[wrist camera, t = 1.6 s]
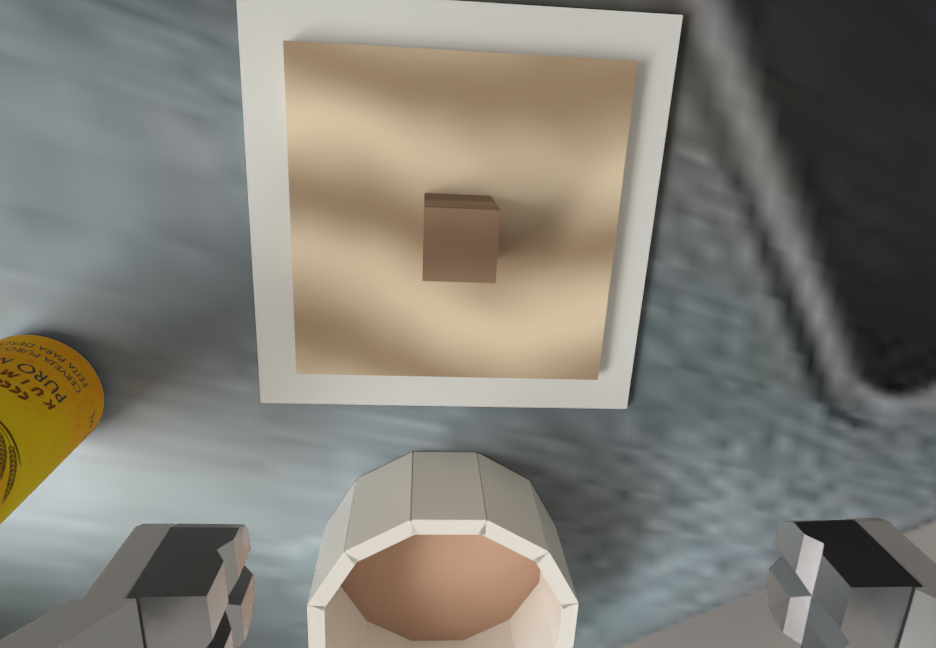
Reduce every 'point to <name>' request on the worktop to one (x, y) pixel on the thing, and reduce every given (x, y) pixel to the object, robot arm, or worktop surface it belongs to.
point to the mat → (462, 29)
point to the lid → (452, 209)
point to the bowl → (441, 561)
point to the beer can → (41, 411)
